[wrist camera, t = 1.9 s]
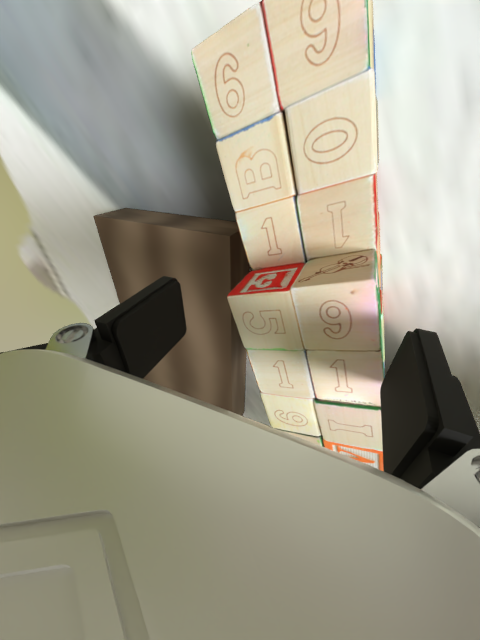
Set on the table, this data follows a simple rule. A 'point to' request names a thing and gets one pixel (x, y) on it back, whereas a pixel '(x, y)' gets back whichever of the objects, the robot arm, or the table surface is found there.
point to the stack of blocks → (305, 211)
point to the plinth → (186, 294)
